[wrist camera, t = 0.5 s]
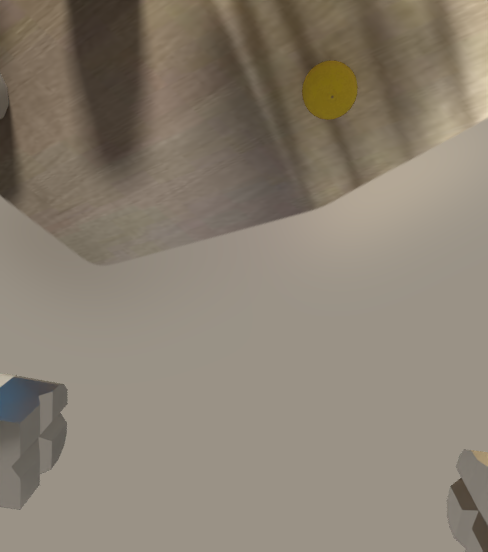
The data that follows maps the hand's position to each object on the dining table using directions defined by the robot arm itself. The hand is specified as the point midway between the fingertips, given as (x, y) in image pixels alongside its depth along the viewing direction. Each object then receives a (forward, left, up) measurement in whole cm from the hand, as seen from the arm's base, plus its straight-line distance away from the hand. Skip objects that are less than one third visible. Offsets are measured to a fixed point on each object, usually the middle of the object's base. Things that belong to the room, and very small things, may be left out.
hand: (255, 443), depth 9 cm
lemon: (-3, +3, -48) cm, 48 cm away
